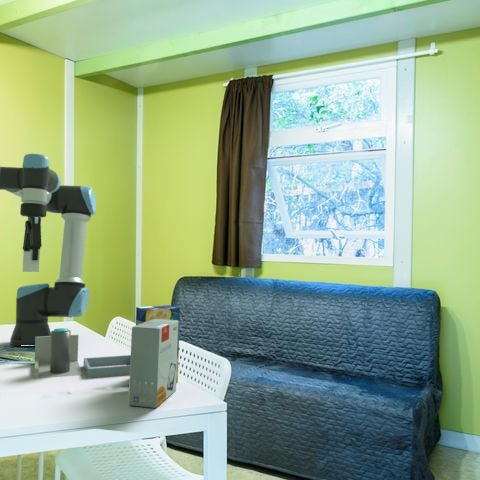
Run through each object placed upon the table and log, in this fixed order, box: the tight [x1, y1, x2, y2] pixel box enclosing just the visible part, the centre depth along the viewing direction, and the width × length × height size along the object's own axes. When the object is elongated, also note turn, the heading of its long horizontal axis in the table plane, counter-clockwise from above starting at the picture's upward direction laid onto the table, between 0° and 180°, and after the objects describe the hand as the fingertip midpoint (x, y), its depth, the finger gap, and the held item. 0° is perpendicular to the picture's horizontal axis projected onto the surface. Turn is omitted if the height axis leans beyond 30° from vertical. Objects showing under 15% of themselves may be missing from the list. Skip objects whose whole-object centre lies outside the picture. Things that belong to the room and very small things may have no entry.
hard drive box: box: [127, 319, 180, 409], centre depth 127 cm, size 16×8×20 cm, turn 168°
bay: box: [34, 334, 83, 380], centre depth 148 cm, size 18×13×10 cm
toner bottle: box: [50, 327, 72, 374], centre depth 145 cm, size 6×6×13 cm
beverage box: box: [135, 304, 181, 383], centre depth 142 cm, size 7×11×22 cm, turn 127°
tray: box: [83, 354, 131, 379], centre depth 148 cm, size 14×16×4 cm
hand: (30, 271), depth 148 cm, fingers open, 13 cm apart
